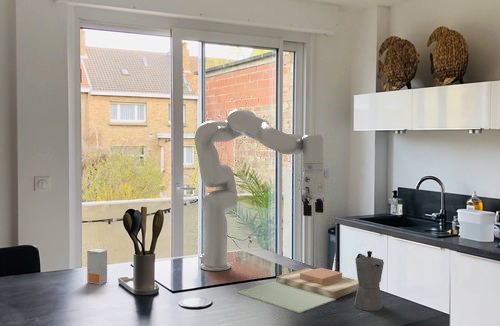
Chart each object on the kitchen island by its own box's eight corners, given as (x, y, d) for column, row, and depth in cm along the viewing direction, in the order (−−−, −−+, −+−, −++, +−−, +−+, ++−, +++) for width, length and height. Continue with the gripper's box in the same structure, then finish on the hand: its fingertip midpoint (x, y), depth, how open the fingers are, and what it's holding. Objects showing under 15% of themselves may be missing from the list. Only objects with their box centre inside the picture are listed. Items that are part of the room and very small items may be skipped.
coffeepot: (391, 312, 163) (393, 255, 162) (363, 314, 160) (365, 256, 159) (369, 297, 178) (370, 244, 177) (343, 298, 175) (344, 245, 174)
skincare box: (86, 282, 191) (86, 250, 190) (94, 279, 194) (94, 248, 194) (100, 284, 188) (100, 252, 188) (107, 281, 192) (107, 249, 192)
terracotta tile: (299, 278, 190) (300, 273, 190) (320, 272, 199) (320, 267, 198) (321, 284, 183) (322, 278, 183) (342, 278, 192) (342, 272, 191)
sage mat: (237, 292, 181) (237, 291, 181) (274, 282, 194) (274, 281, 194) (299, 313, 161) (299, 312, 161) (336, 300, 174) (336, 298, 174)
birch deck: (276, 282, 193) (276, 276, 193) (307, 274, 206) (307, 267, 206) (333, 299, 175) (333, 291, 175) (363, 288, 187) (363, 281, 187)
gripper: (311, 169, 183) (312, 218, 184) (332, 167, 197) (332, 212, 198) (292, 169, 187) (293, 216, 188) (314, 166, 201) (314, 210, 202)
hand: (313, 214), depth 193 cm, fingers open, 9 cm apart
